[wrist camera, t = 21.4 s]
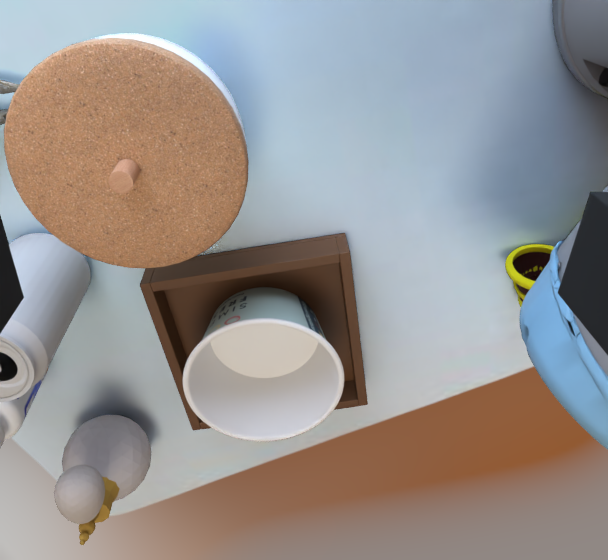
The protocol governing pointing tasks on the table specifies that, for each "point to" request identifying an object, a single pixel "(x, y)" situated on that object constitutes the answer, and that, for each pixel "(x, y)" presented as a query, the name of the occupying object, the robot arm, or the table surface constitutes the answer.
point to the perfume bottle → (100, 469)
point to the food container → (263, 368)
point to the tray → (252, 274)
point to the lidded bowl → (128, 150)
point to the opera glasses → (527, 266)
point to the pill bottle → (16, 412)
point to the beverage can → (39, 309)
